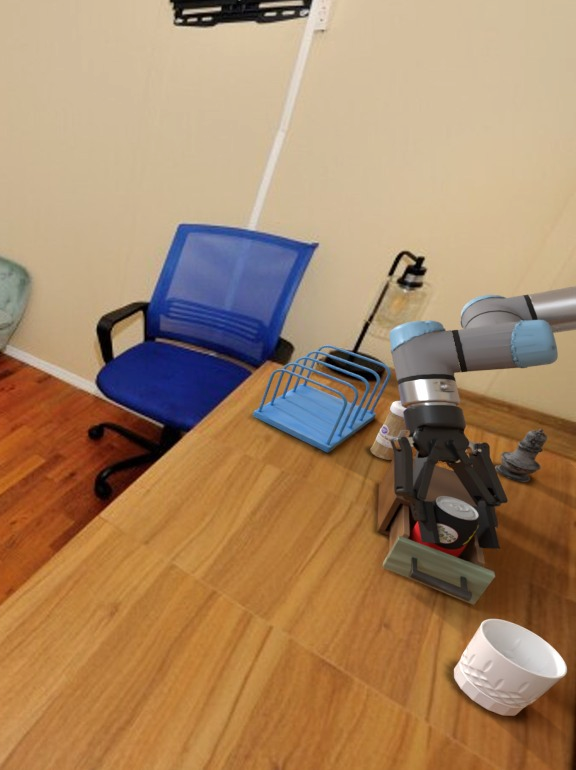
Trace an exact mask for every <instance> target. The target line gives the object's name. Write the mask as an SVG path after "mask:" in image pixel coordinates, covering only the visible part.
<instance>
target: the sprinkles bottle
mask: <svg viewBox="0 0 576 770" xmlns="http://www.w3.org/2000/svg"><path fill="white" fill-rule="evenodd" d="M405 409H407V408H405V407H403V406H402V405H401V400H395V401H393V402H392V403H391V406H390V407H389V412H388V414H387V416H386V418H385V420H384V422H383V424H382V426H381V427H380V429H379V431H378V432H377V435H376V438H375V440H374V442H373V444H372V445H371V447H370V449H369V450H370V453H371V454H372V455H374V457H376V458H379V459H381V460H385V461H392V459H393V457H394V450H393V448H392V445H391V442H390V440H391V439H393V438H399V437H406V438H407V435H408V434H409V432H410V431H409V430H408V429H407V428H406V424H405V419H404V414H403V411H404V410H405Z"/></svg>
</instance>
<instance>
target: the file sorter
mask: <svg viewBox="0 0 576 770" xmlns="http://www.w3.org/2000/svg"><path fill="white" fill-rule="evenodd" d="M325 348H329V349H333V350H336V351H338V352H341V353H345V354H348V355H351V356H353V357H355V358H358V359H362V360H364V361H367V362H370V363H373V364H375V365H378V366H381V367H383V368H384V369H385V370H386V372H387V376H386V378H385V380H384V382H383V384H382V386H381V388H380V390H379V392H378V394H377V396H376V398H375V400H374V402H373V404H372V406H371V408H370V405H371V403H372V401H373V399H374V397H375V395H376V392H377V391H378V388H379V386H380V384H381V377H380V375H379V374H378V373H377V372H376V370H373V369H371V368H368V367H366V366H364V365H360V364H358V363H355V362H352V361H349V360H347V359H343V358H341V357H338V356H335V355H332V354H329V353H327V352H324V351H322V350H323V349H325ZM311 355H314V356H313V357H310V356H311ZM319 355H322V356H325V357H328V358H331V359H333V360H336V361H339V362H342V363H344V364H348V365H350V366H353V367H356V368H358V369H361V370H364V371H367V372H369V373H371V374H372V375H374V377H375V379H376V382H375V385H374V387H373V390H372V391H371V394H370V393H369V392H370V390H371V385H370V383H369V381H368V379H366V378H365V377H363V376H361V375H359V374H356V373H354V372H351V371H349V370H346V369H343V368H341V367H337V366H336V365H332V364H330V363H327V362H324V361H321V360H319V359H318V357H319ZM302 360H303V362H302V364H301V363H299V362H300V361H302ZM308 361H312V362H311V364H310V367H309V366H306V365H307V363H308ZM315 363H316V364H318V365H322V366H324V367H327V368H331V369H333V370H336V371H338V372H341V373H343V374H346V375H349V376H352V377H354V378H356V379H359V380H361V381H362V382H363V383H364V384H365V387H366V389H365V392H364V394H363V396H362V398H361V399H360V400H361V401H360V403H359V405H358V404H357V402H358V399H359V391H358V389H357V388H356V386H355V385H353V384H351V383H349V382H348V381H345V380H343V379H340V378H337V377H335V376H332V375H330V374H327V373H325V372H322V371H319V370H317V369H314V366H315ZM290 366H292V369H291V370H288V369H287V368H288V367H290ZM297 367H299V368H300V370H299V373H296V369H297ZM304 370H307V371H308V372H307V374H306V376H303V373H304ZM279 372H280V375H279V378H278V380H277V383H276V386H275V389H274V392H273V395H272V398H271V400H270V401H269V402H267V403H266V404H265V402H266V399H267V396H268V393H269V390H270V388H271V384H272V382H273V380H274V377H275V375H276V373H279ZM285 373H286V374H288V375H289V377H288V380H287V382H286V385H285V388H284V390H283V392H282V394H281V395H279V396H277V394H278V391H279V389H280V386H281V383H282V381H283V377H284V374H285ZM312 373H314V374H317V375H320V376H322V377H325V378H327V379H331V380H333V381H335V382H338V383H340V384H343V385H345V386H348V387H349V388H350V389H352V390H353V392H354V398H353V401H352V402H350V401H348V399H347V397H346V395H345V394H343V392H341V391H339V390H338V389H336V388H332V387H331V386H328V385H326V384H323V383H321V382H319V381H315V380H313V379H311V378H310V376H311V374H312ZM293 376H294V377H296V378H297V379H296V380H295V384H294V386H293V388H292V389H290V390H288V389H289V387H290V384H291V382H292V379H293ZM391 376H392V371H391V368H390V367H389V366H388V365H386V364H385V363H383V362H380V361H378V360H374V359H372V358H369V357H366V356H364V355H361V354H357V353H354V352H352V351H349V350H346V349H343V348H340V347H337V346H334V345H330V344H325V345H322V346H320V347H319V348H317V350H312V351H310V352H308V353H307V354H306V355H305V356H301V357H299V358H297V359H296V360H295V361H294V362H289V363H287V364H285V365H284V366H283V367H282V368H278V369H276V370H274V371H272V372H271V374H270V376H269V378H268V381H267V384H266V388H265V390H264V393H263V396H262V399H261V402H260V405H259V407H258V408H257V409H255V410H254V411H253V414H252V417H253V418H256V419H257V420H259V421H261V422H263V423H265V424H268V425H270V426H272V427H274V428H276V429H278V430H280V431H282V432H284V433H286V434H288V435H290V436H292V437H294V438H296V439H299V440H300V441H303V442H304V443H306V444H308V445H310V446H313V447H315V448H317V449H319V450H321V451H323V452H325V453H326V454H327V453H328V454H329V453H331V452H332V451H333V450H334V449H335V448H337V447H338V446H340V445H341V444H342V443H344V442H346V440H348V439H349V438H350V437H352V436H353V435H354V434H355V433H357V432H358V431H360V430H361V429H362V428H364V427H365V426H366V425H368V424H369V423H370V422H373V420H374V419H375V418H376V416H377V413H376V412H374V411H375V409H376V407H377V406H378V403H379V401H380V399H381V397H382V395H383V393H384V391H385V390H386V387H387V385H388V383H389V381H390V379H391ZM300 380H304V382H303V383H300ZM308 382H309V383H311V384H314V385H316V386H319V387H321V388H323V389H326V390H328V391H330V392H333V393H335V394H336V395H339V396H340V397H341V398H340V397H339V396H338V397H337V396H335V395H332V394H330V393H328V392H325V391H323V390H321V389H318V388H316V387H314V386H311V385H308ZM369 394H370V396H369V398H368V401H367V402H366V400H367V397H368V395H369ZM365 402H366V405H365V407H363V406H364V403H365ZM369 408H370V410H369Z"/></svg>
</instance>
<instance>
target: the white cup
mask: <svg viewBox="0 0 576 770" xmlns="http://www.w3.org/2000/svg"><path fill="white" fill-rule="evenodd" d="M567 673H568V666H567V663H566V661H565V660H564V658H563V657H562V655H561V654H560V653H559V652H558V651H557V650H556V649H555V647H554V646H552V645H551V644H550V643H549V642H547V641H546V640H545V639H543V638H542V637H541V636H539V635H538V634H536V633H534V632H533V631H531V630H529V629H527V628H525V627H523V626H522V625H519V624H517V623H513V622H511V621H509V620H504V619H499V618H488V619H485V620H483V621H482V622H481V623H480V625H479V627H478V628H477V630H476V632H475V633H474V634H473V636H472V637H471V639H470V641H469V642H468V643H467V645H466V647H465V649H464V651H463V653H462V654H461V657H460V659H459V661H458V662H457V663H456V665H455V667H454V668H453V679H454V680H455V682H456V684H457V685H458V687H459V688H460V690H461V691H462V692H463V693H464V694H465V695H466V696H467V697H469V698H470V699H471V701H473V702H474V703H476V704H477V705H479V706H481V707H482V708H484V709H486V710H487V711H488V712H489V711H490V712H493V713H494V714H498V715H501V716H505V717H507V716H508V717H509V716H510V717H516V715H518V714H519V713H520V712H522V710H523V709H525V708H526V707H528V706H530V705H532V704H533V703H534V702H535V701H537V700H538V699H540V697H542V696H543V695H545V693H547V692H548V691H549V690H550V689H551V688H552V687H553V686H554V685H556V684H557V683H558V682H559V681H561V680H562V679H563V678H564V677H565V676H566V675H567Z"/></svg>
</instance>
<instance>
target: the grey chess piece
mask: <svg viewBox="0 0 576 770" xmlns="http://www.w3.org/2000/svg"><path fill="white" fill-rule="evenodd" d="M546 441H548V435H547V434H545V433H544V429H543V428H539V429H538V430H529V431H528V432H527V433H526V435H525V436H524V437H523V439H522V440H520V441H517V444H518V446H517V447H516V448H515V450H514V451H504V452H502V453H501V454H500V457H501V458H500V461H501V464H497V465H496V466H494V468H495V470H496V472H497V474H498V473H499V474H500V475H501V476H503V477H505V478H507V479H509V480H513V481H516V482H520V483H528V482H530V481H531V477H530V475H532V474H534V473H536V471H539V470H541V468H542V467H541V465H540V463H539V462H537V461H536V457H537V456H538V455H539V453H542V452H543V448H542V447H543V446H544V444H545V443H546Z"/></svg>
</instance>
